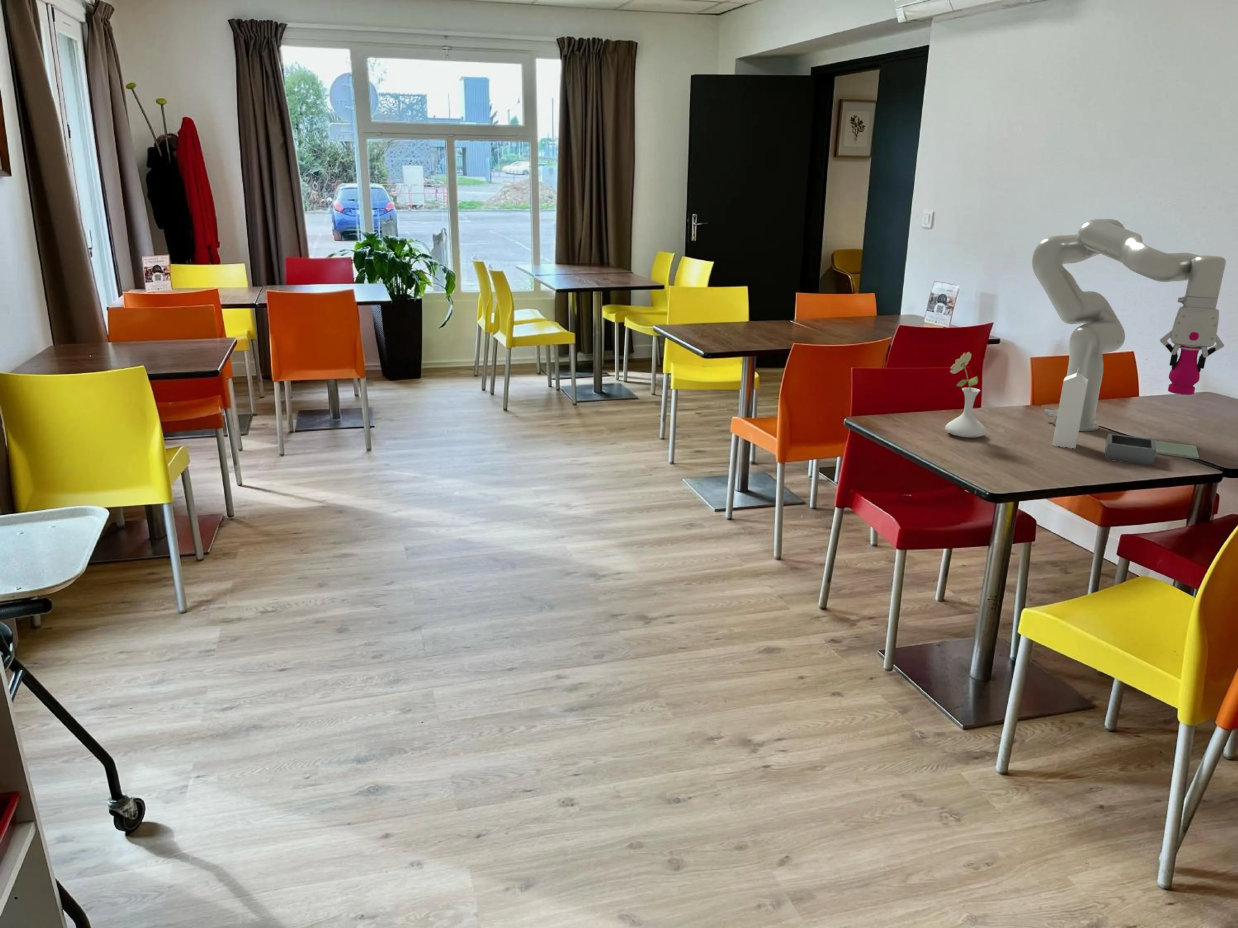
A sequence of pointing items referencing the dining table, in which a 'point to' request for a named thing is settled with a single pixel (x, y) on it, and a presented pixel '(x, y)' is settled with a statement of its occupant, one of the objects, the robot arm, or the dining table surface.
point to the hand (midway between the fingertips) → (1185, 369)
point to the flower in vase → (966, 405)
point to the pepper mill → (1185, 369)
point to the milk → (1070, 411)
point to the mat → (1176, 449)
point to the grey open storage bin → (1130, 449)
